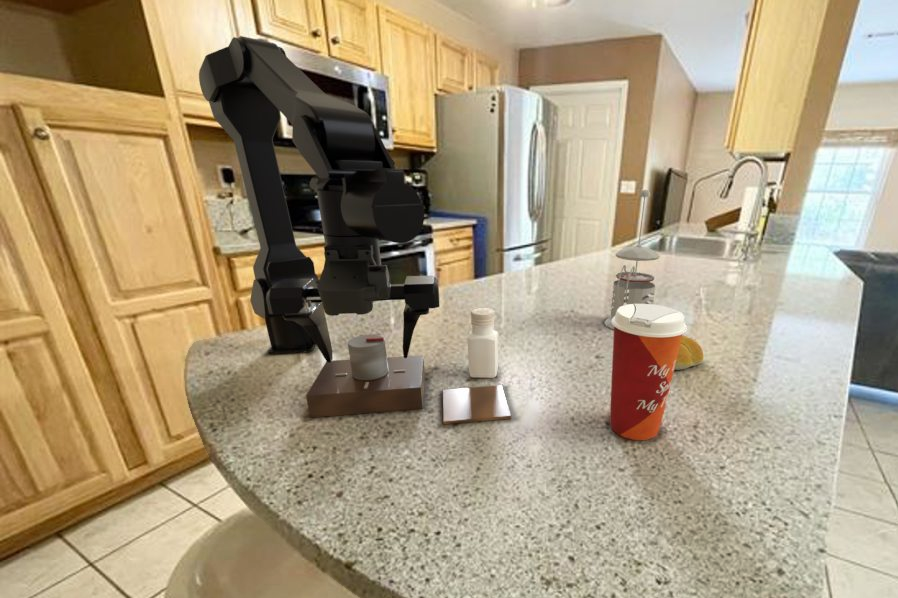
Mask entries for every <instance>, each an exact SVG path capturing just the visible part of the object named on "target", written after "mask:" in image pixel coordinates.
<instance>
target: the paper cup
mask: <svg viewBox="0 0 898 598" xmlns="http://www.w3.org/2000/svg"><path fill="white" fill-rule="evenodd" d="M611 322H612V324H613V326H614V329H613V339H612V340H613V342H612V344H613V345H612V361H611V363H612V364H611V384H610V385H611V387H610V390H611V391H610V410H609V411H610V413H609V415H610V416H609V418H610V419H609V420H610V421H609V422H610V423H609V424H610V428H611V429H612V430H613V431H614V433H616V434H617V435H618V436H621V437H623V438H625V439H629V440H632V441H648V440H651V439H653V438H655V437H656V436H657V435H658V434H659V431H660V428H661V426H662V425H661V424H662V421H663V419H664V418H663V417H664V413H665V409H666V405H667V401H668V397H669V394H670V389H671V384H672V380H673V376H674V372H675V370H674V368H675V364H676V359H677V355H678V351H679V347H680V343H681V338H682V336H683V334H685V333H686V332H687V330H688V326H687V324H686V323H685V316H684V314H683V313H682V312H681V311H679V310H677V309H674V308H672V307H669V306H666V305H661V304H654V303H653V304H650V303H649V304H628V305H627V304H624V305H623V306H621V307H619V308H618V309H617V311H616V315H615V316H614V317H613V319H612V320H611Z"/></svg>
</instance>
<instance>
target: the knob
mask: <svg viewBox="0 0 898 598" xmlns="http://www.w3.org/2000/svg"><path fill="white" fill-rule="evenodd" d="M346 343H347V349H348V350H347V351H348V355H349V360H350V363H351V369H352V375H353V377H354V378H355V379H358V380H374V379H378V378H381V377H383V376H385V375H386V374H387V373H388V363H387V357H388V356H387V347H386V339H385V336H382V335H380V334H363V335H357V336H354V337H351V338H350V339H349V340H348V341H347V342H346Z"/></svg>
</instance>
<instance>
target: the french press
mask: <svg viewBox="0 0 898 598" xmlns="http://www.w3.org/2000/svg"><path fill="white" fill-rule="evenodd" d="M638 196H639V197H641V198H643V202H642V212H641V220H640V228H639V236H638V244H636V245H631V246H627V247H623V248H621V249H620V250H618V251H617V252H616V253H615V257H616V258H618V259H621V260H626V261H634V262H635V261H636V262H635V266H634V265H633V266H632V267H631V268H630V271H627V266H626V265H625V264H624V265H623V266H622V268H621V270H620V272H618V273H616V275H615V277H616V278H617V280H614V282H613V283H612V284H613V286H612V289H613V290H612V296H611V304H610V308H611V309H610V316H609V317H608V318H606V320H605V321H604V325H605V326H606V327H607V328H609V329H611V330H614V326H613V324H612V322H611V320H612V319H613V317H614V316H615V315H616V311H617V309H618V308H619V307H621V306H623V305H625V303H626V305H628V304H653V305H654V303H653V302H654V295H655V293H656V292H655V291H656V284H655V283H654V280H655V276H654V275H653V274H649V273H646V272H637V270H638V262H649V261H656V260H658V259H660V257H661V255H660V254H659V253H658V252H656V250H653V249H651V248H649V247H648V246H643V245H641V236H642V229H643V228H642V227H643V220H644V210H645V204H646V203H645V202H646V198H651V192H650V191H649V190H648V189H643V190H641V191H639V195H638ZM623 270H624V271H623ZM649 295H651V296H649Z"/></svg>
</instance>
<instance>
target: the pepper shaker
mask: <svg viewBox="0 0 898 598" xmlns="http://www.w3.org/2000/svg"><path fill="white" fill-rule="evenodd" d="M470 324H471V330H470V331H469V332H468V336H467V358H468V359H467V360H468V374H469V377H471V378H490V379H491V378H492V379H493V378H495V377H496V376H497V374H498V368H499V331H497V330H495V329H494V328H495V326H494V325H495V311H494V309H492V308H488V307H478V308H474V309H472V310H471V311H470Z"/></svg>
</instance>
